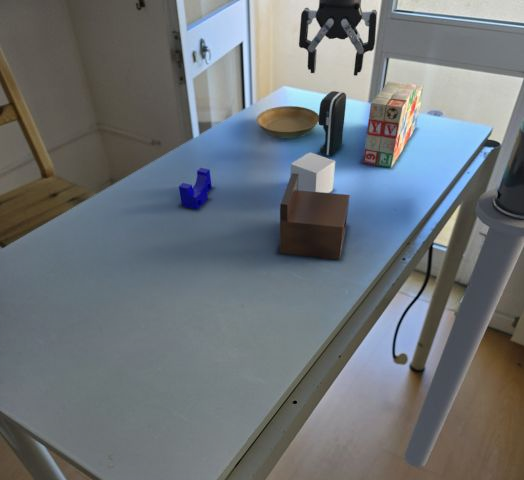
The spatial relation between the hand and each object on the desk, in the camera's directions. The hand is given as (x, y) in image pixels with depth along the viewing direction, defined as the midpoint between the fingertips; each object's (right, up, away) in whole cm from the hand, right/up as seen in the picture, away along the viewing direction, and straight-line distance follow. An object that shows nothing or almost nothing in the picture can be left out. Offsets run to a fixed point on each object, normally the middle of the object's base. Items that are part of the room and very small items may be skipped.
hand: (334, 73), depth 94 cm
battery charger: (0, -11, +11) cm, 16 cm away
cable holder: (-27, -25, -1) cm, 37 cm away
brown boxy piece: (-5, -36, -12) cm, 38 cm away
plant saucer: (-8, -2, +19) cm, 21 cm away
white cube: (-5, -24, -1) cm, 25 cm away
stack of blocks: (+14, -9, +12) cm, 21 cm away
